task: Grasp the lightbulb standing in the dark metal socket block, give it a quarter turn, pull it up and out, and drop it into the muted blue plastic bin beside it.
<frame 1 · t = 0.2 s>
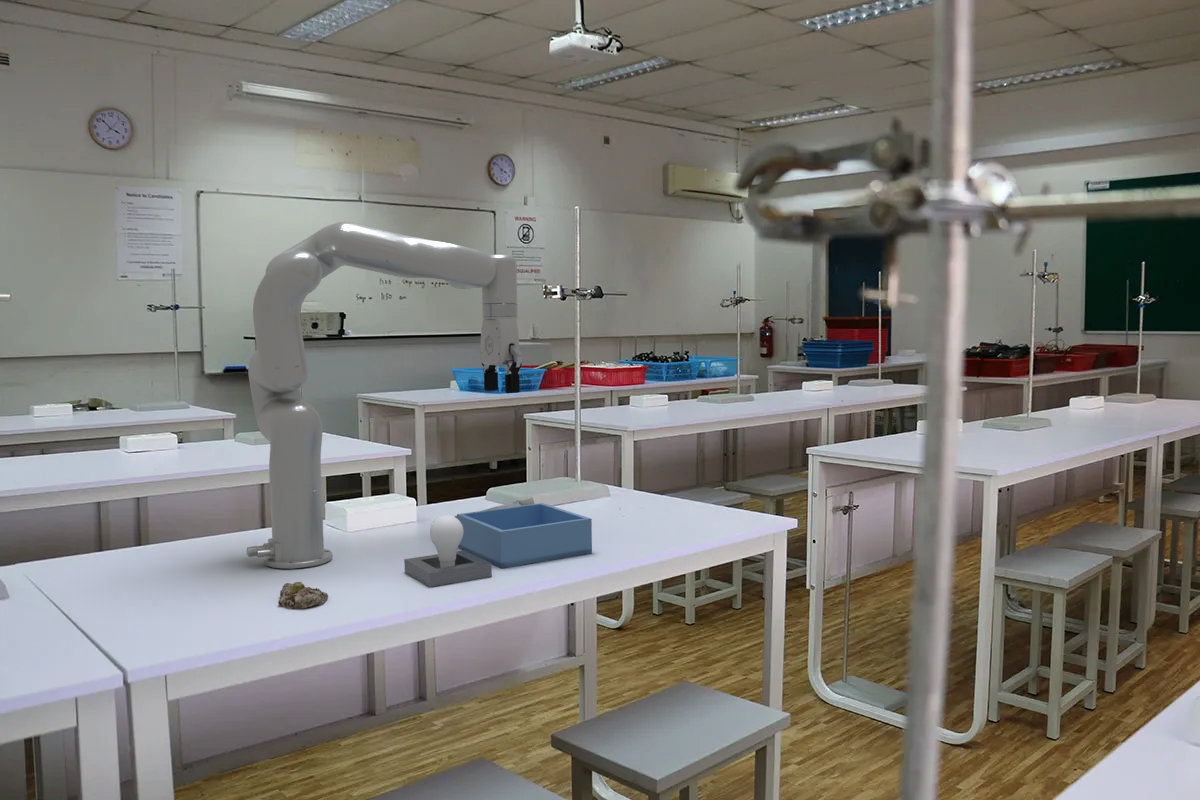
hand: (501, 391, 207), 31 cm above the lab bench, tool pointing down, fingers open, 9 cm apart
mineral rock: (301, 603, 160), on the lab bench
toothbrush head: (492, 530, 213), on the lab bench
socket block: (447, 574, 175), on the lab bench
bin: (523, 550, 192), on the lab bench
lightbulb: (447, 575, 175), resting in socket block
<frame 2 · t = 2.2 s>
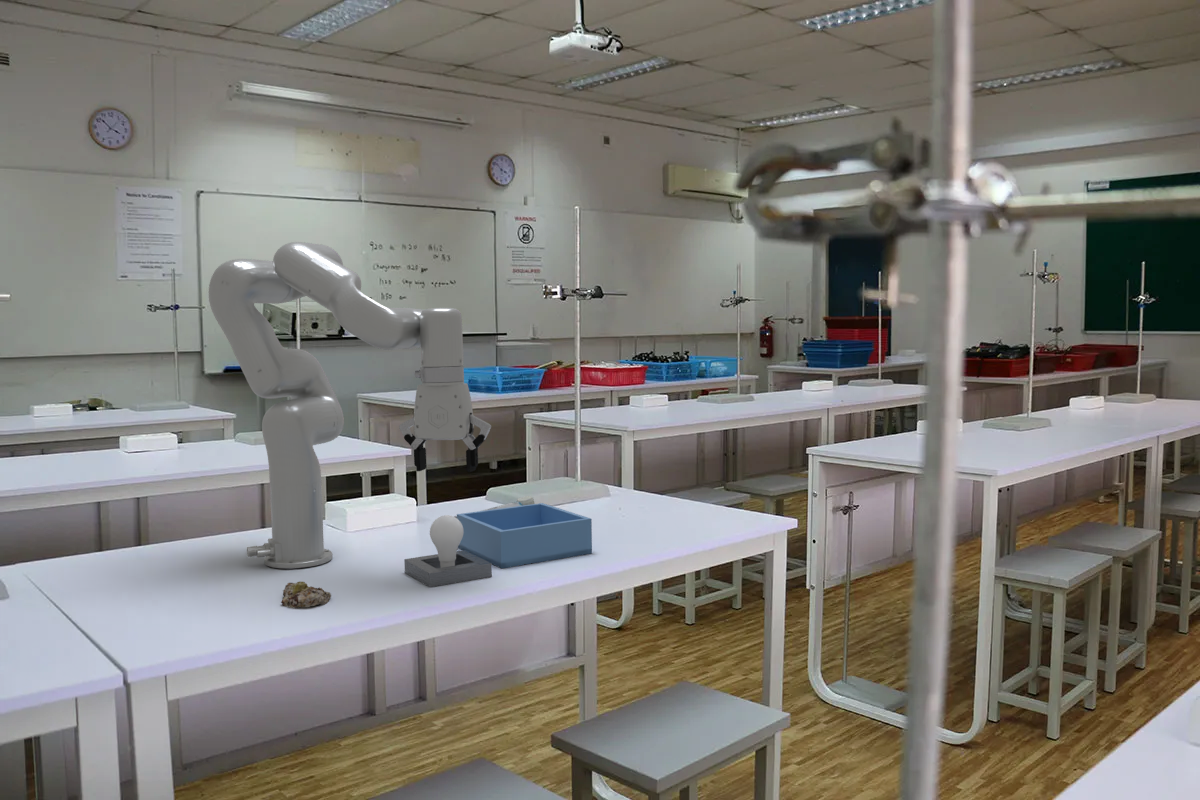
hand: (446, 470, 173), 19 cm above the lab bench, tool pointing down, fingers open, 9 cm apart
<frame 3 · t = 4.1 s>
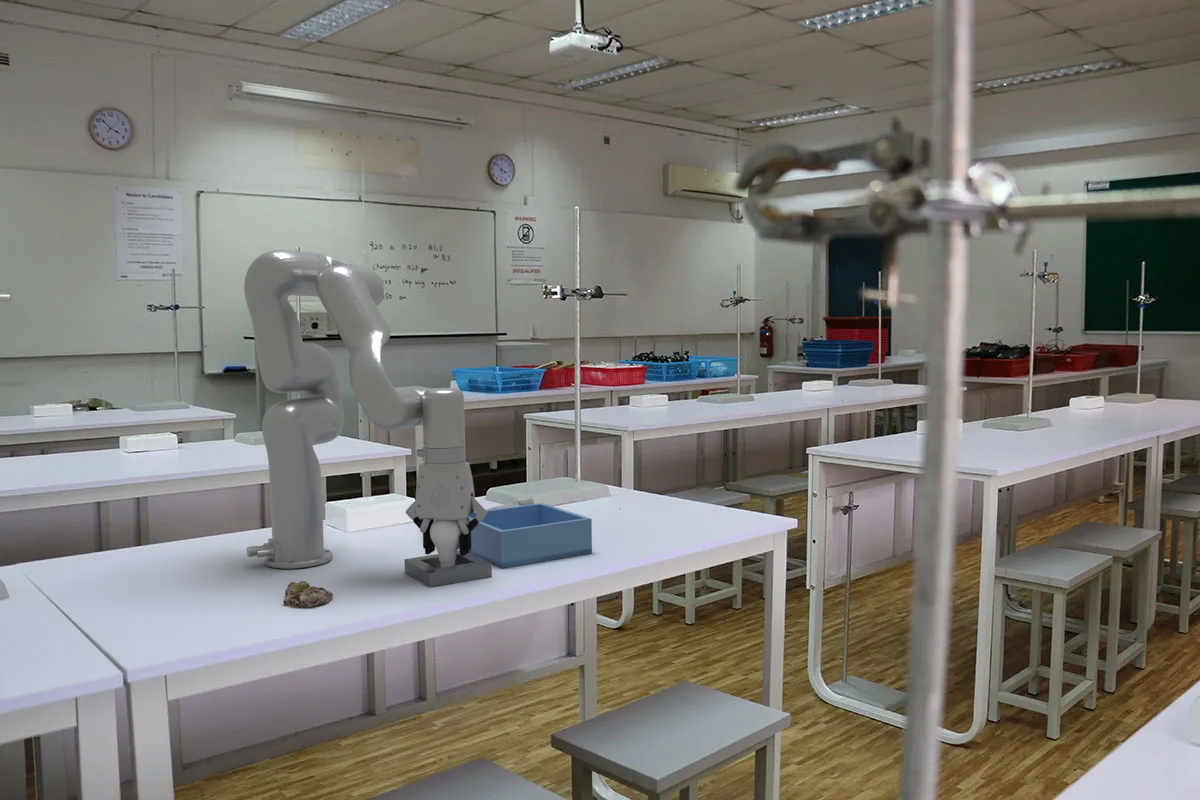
hand: (447, 552, 175), 4 cm above the lab bench, tool pointing down, fingers closed on lightbulb, 6 cm apart
lightbulb: (448, 575, 175), resting in socket block, touching gripper
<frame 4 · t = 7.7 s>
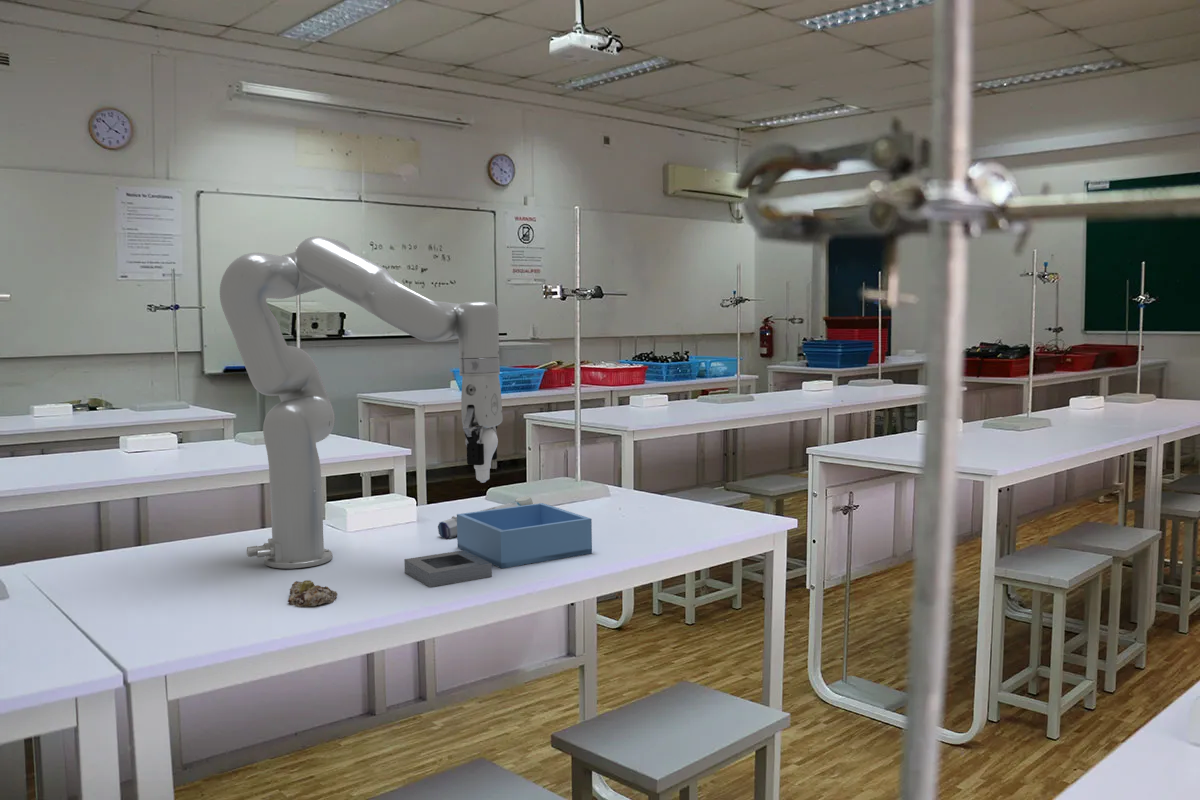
hand: (482, 461, 181), 20 cm above the lab bench, tool pointing down, fingers closed on lightbulb, 6 cm apart
lightbulb: (483, 483, 181), point 15 cm above the lab bench, touching gripper
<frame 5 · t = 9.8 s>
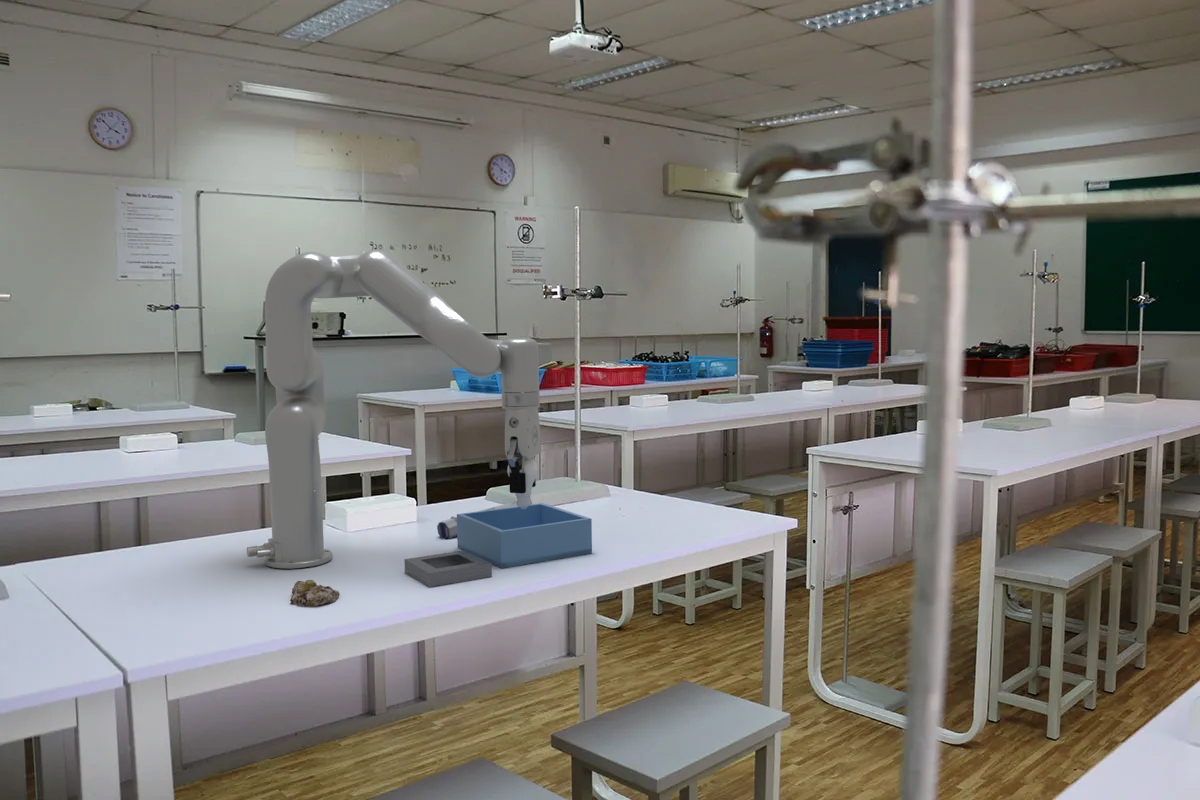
hand: (522, 488, 191), 13 cm above the lab bench, tool pointing down, fingers closed on lightbulb, 6 cm apart
lightbulb: (523, 510, 192), point 8 cm above the lab bench, touching gripper
when the fingers open (7 cm above the lab bench, at t = 11.3 s): lightbulb drops 2 cm, resting on bin.
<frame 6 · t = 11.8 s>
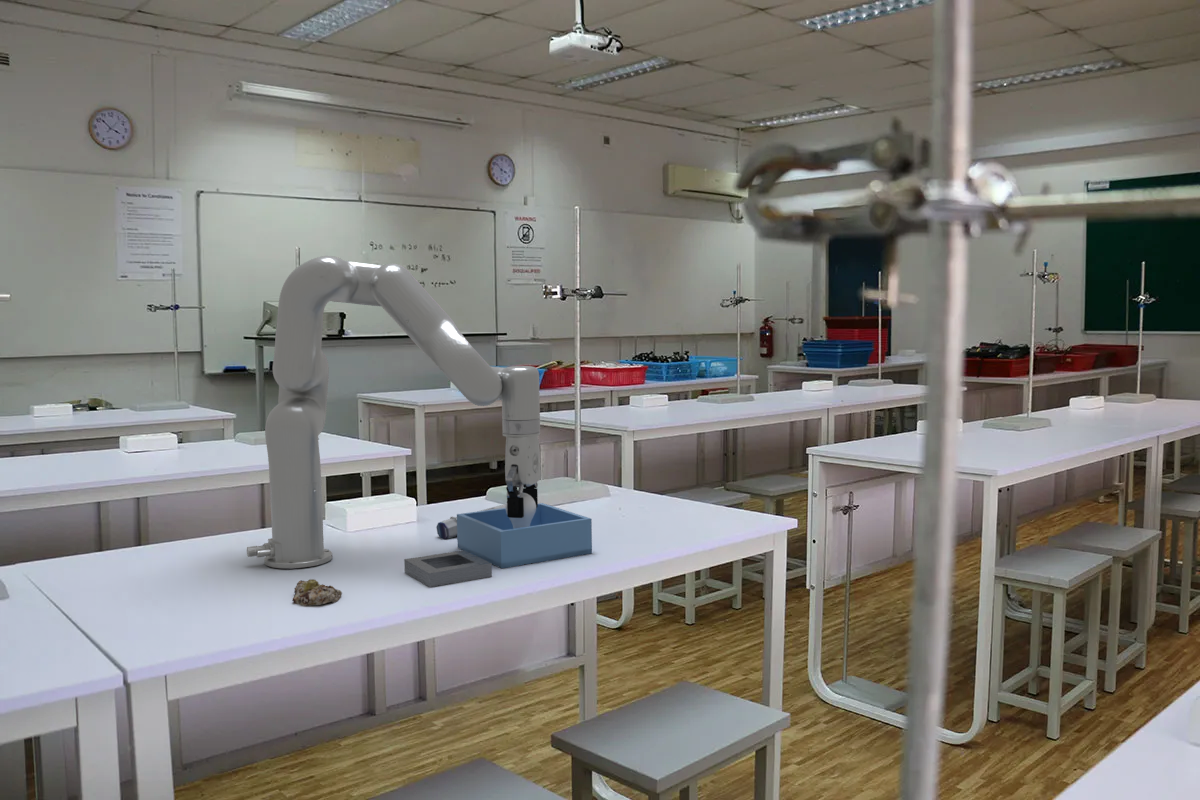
hand: (522, 512, 192), 8 cm above the lab bench, tool pointing down, fingers open, 9 cm apart
lightbulb: (522, 547, 192), point 1 cm above the lab bench, touching bin
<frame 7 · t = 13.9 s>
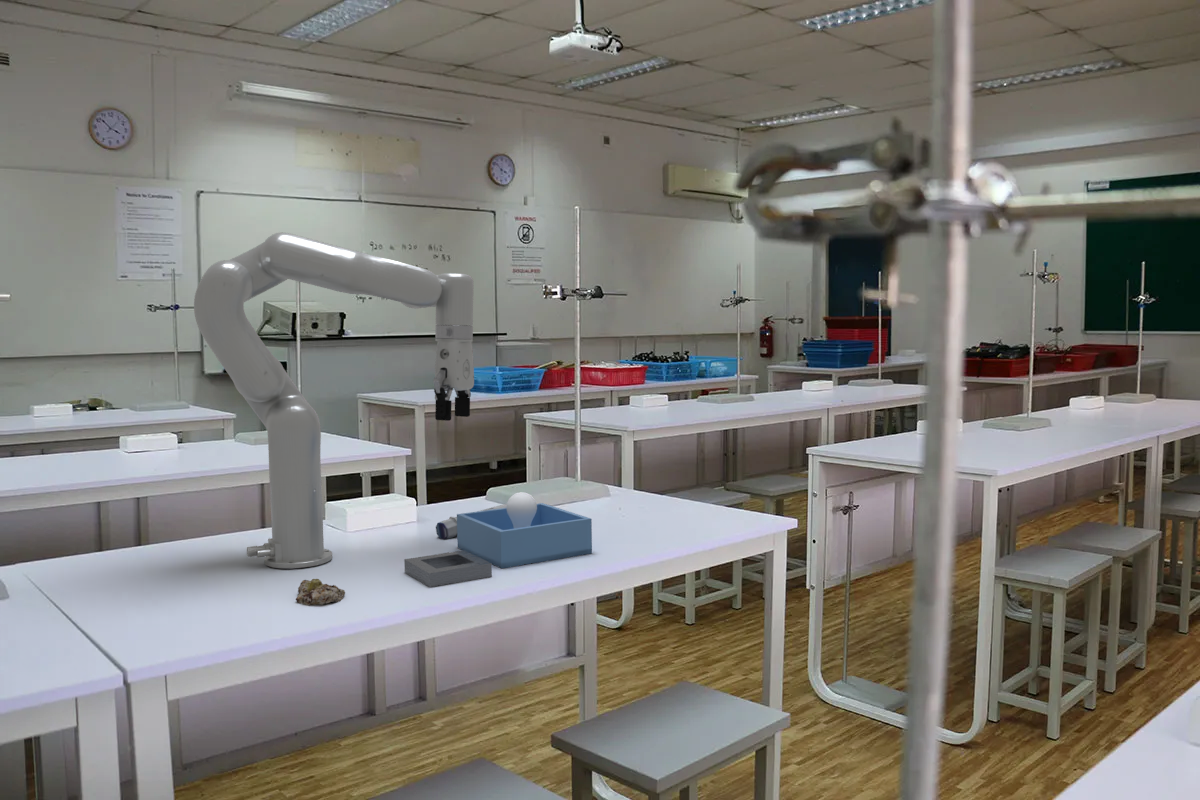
hand: (453, 418, 195), 27 cm above the lab bench, tool pointing down, fingers open, 9 cm apart
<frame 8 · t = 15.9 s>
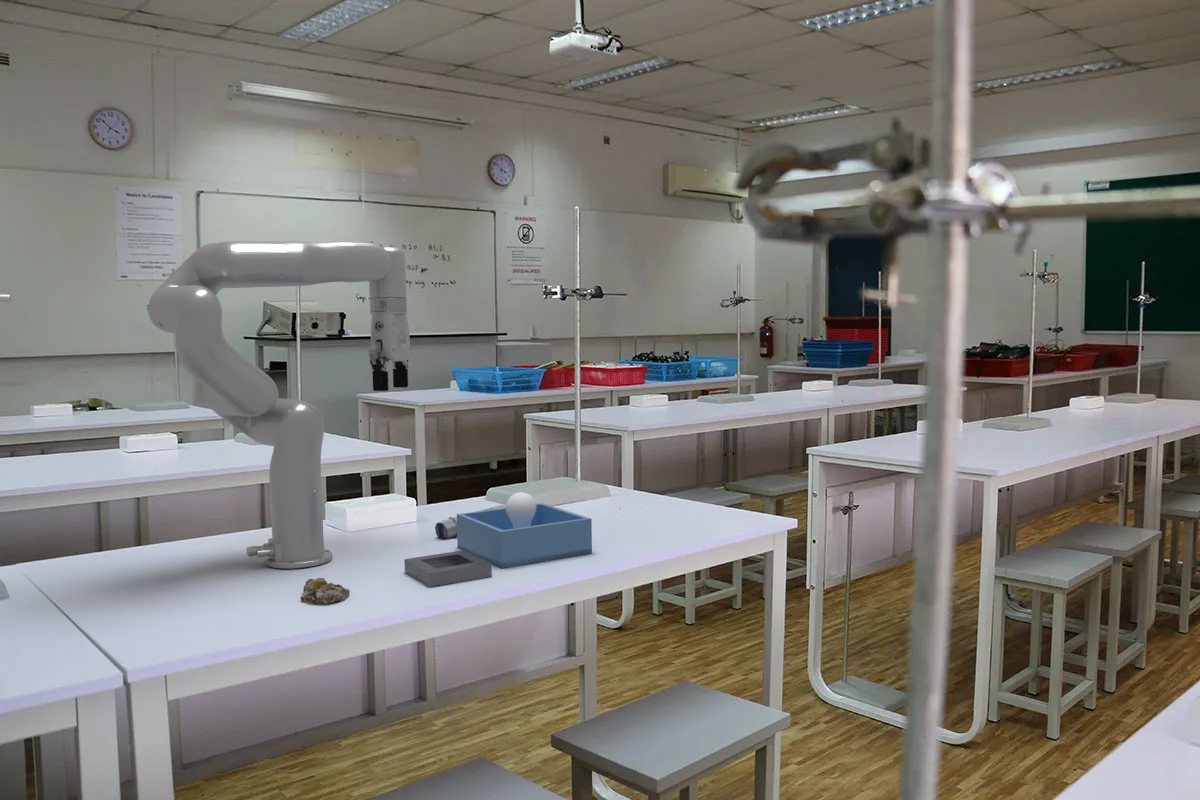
hand: (391, 389, 200), 32 cm above the lab bench, tool pointing down, fingers open, 9 cm apart
at the end: lightbulb inside the target area on the bin (0.7 cm from its centre), point 0.8 cm above the bin's base; the gripper is holding nothing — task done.
